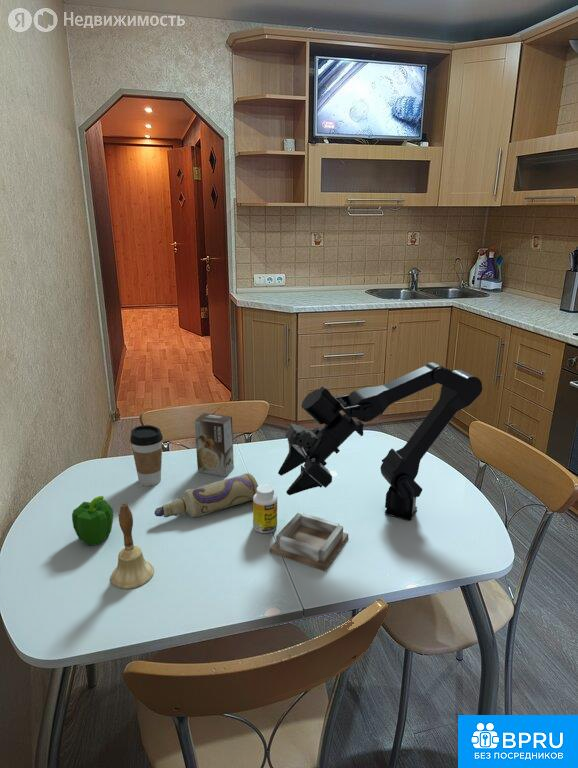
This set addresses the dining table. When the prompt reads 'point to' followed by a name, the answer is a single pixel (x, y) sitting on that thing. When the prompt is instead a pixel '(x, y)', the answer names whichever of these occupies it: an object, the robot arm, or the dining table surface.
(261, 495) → the supplement bottle
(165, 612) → the dining table surface
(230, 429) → the coffee box
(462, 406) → the robot arm
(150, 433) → the coffee cup
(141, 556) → the hand bell
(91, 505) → the bell pepper
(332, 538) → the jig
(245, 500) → the decorative bottle
